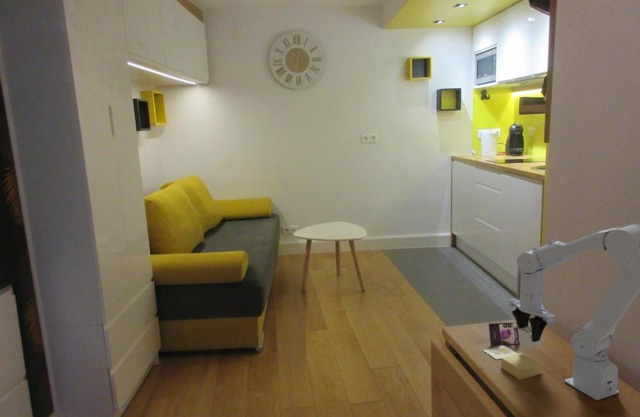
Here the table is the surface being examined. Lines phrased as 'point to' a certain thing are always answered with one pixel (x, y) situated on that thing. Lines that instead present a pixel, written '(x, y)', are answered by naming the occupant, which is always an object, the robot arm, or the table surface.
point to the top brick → (527, 337)
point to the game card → (502, 333)
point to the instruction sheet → (500, 352)
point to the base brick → (520, 366)
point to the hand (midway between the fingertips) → (529, 337)
